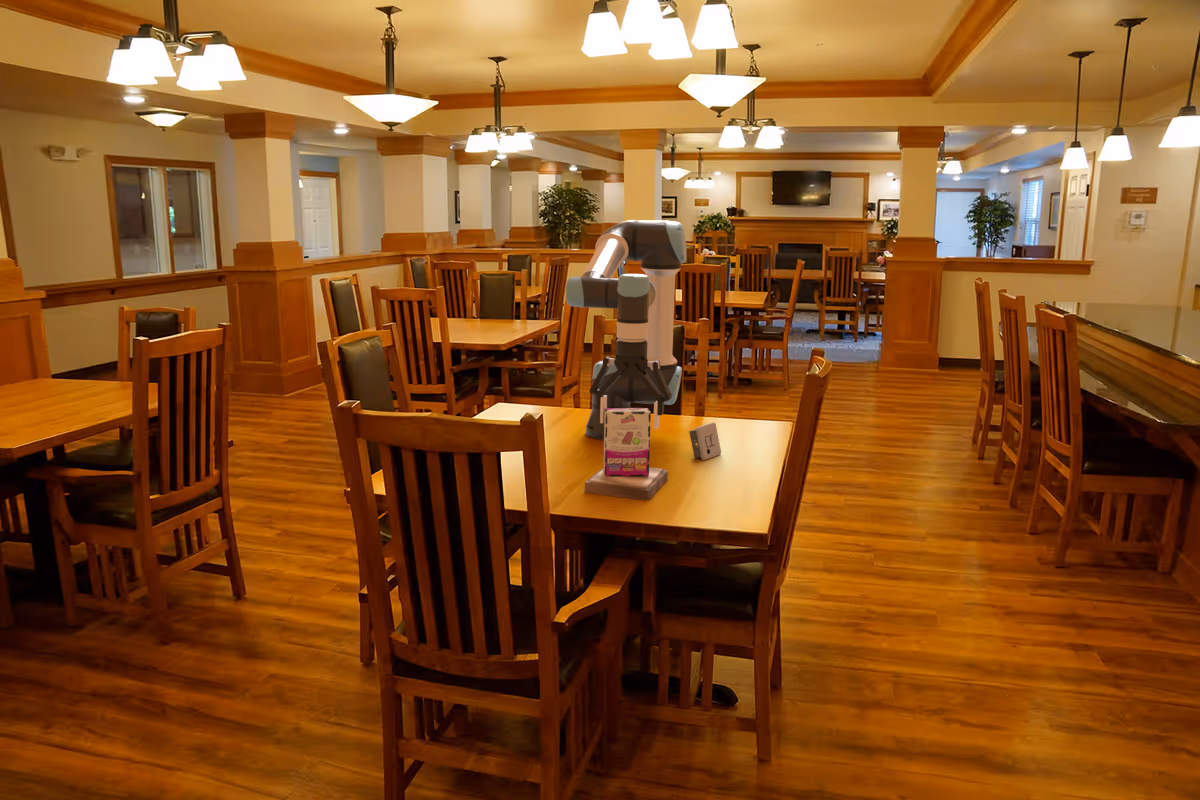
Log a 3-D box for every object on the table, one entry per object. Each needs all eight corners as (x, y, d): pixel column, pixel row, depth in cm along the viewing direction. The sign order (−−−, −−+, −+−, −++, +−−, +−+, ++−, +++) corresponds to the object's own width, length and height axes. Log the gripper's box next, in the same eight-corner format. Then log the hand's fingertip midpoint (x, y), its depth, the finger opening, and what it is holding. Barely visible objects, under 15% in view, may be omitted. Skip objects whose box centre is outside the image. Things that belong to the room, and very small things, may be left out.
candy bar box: (646, 470, 214) (648, 407, 211) (649, 476, 209) (651, 411, 206) (602, 470, 213) (604, 407, 210) (604, 476, 208) (606, 411, 205)
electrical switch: (704, 461, 235) (703, 428, 234) (688, 459, 239) (687, 426, 237) (721, 454, 242) (720, 422, 241) (706, 453, 246) (705, 421, 244)
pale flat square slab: (608, 472, 223) (608, 461, 222) (667, 479, 218) (668, 468, 217) (584, 492, 206) (585, 480, 205) (648, 500, 201) (648, 488, 200)
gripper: (686, 340, 204) (682, 426, 208) (588, 333, 211) (586, 416, 216) (678, 345, 197) (675, 433, 202) (577, 337, 204) (576, 423, 209)
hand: (629, 424), depth 209 cm, fingers open, 13 cm apart
